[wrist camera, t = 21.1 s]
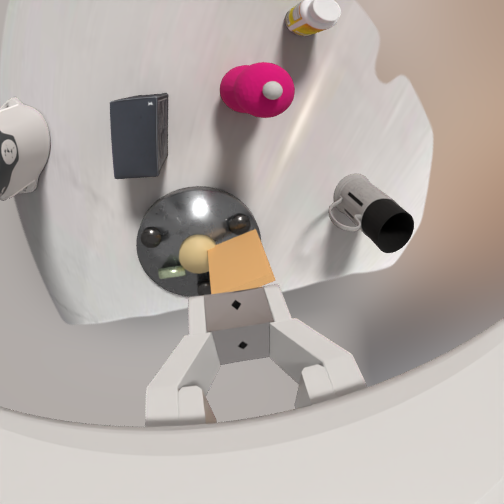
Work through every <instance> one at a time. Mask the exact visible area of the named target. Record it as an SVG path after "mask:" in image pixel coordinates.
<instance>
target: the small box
mask: <svg viewBox="0 0 504 504" xmlns="http://www.w3.org/2000/svg"><path fill="white" fill-rule="evenodd" d="M110 121H111V140H112V155H113V167H114V177H115V179H125V178H140V177H156V176H158V175H159V172H160V169H161V167H162V165H163V163H164V161H165V159H166V157H167V156H168V94H167V93H163V94H154V95H139V96H133V97H128V98H124V99H119V100H115V101H111V102H110Z"/></svg>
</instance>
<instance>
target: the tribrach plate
mask: <svg viewBox="0 0 504 504" xmlns="http://www.w3.org/2000/svg"><path fill="white" fill-rule="evenodd" d="M254 229H256V231H257V233H258V235H259V238H260V241H261V236H260V231H259V228H258V225H257V223H256V221H255V218H254V216H253V215H252V213H251V211H250V210H249V209H248V208H247V206H246V205H245V204H244V203H243V202H241V201H240V200H239V199H238V198H236V197H235V196H233V195H231V194H229V193H227V192H225V191H222V190H219V189H216V188H211V187H199V186H197V187H187V188H183V189H179V190H176V191H173V192H171V193H169V194H167V195H165V196H164V197H162V198H161V199H159V200H158V201H157V202H156V203H155V204H154V205H152V206H151V208H150V209H149V210H148V211H147V213H146V215H145V216H144V218H143V220H142V223H141V225H140V228H139V231H138V236H137V245H136V246H137V254H138V258H139V261H140V263H141V265H142V267H143V269H144V270H145V272H146V273H147V275H148V276H149V277H150V278H151V279H152V280H153V281H154V282H155V283H157V284H158V285H159V286H161V287H163V288H164V289H166V290H168V291H171V292H173V293H176V294H179V295H184V296H191V297H194V296H203V295H209V294H211V285H210V274H209V271H208V272H205V273H192V272H189V271H187V270H186V269H184V268H183V266H182V265H181V263H180V261H179V250H180V246H181V244H182V242H183V241H184V240H185V239H186V238H188V237H190V236H192V235H206V236H208V237H210V238H212V239H213V240H214V241H215V243H216V244H220V243H222V242H225V241H227V240H229V239H232V238H234V237H237V236H239V235H242V234H244V233H247V232H249V231H252V230H254Z"/></svg>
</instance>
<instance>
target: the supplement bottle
mask: <svg viewBox="0 0 504 504" xmlns="http://www.w3.org/2000/svg"><path fill="white" fill-rule="evenodd" d="M340 14H341V10H340V7H339V5H338V4H337V3H336V2H335V1H334V0H303V1H302V2H300V3H299V4H297V5H296V6H295V7H293V8H292V9H291V10H289V11H288V12H287V14H286V16H285V23H286V26H287V28H288V29H289V30H290V31H291V32H293V33H294V34H296V35H299V36H309V35H312V34H315V33H317V32H320V31H323V30H326V29H329V28H331V27H333V26H334V25H335V24H336V23H337V21H338V18H339V17H340Z"/></svg>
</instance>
